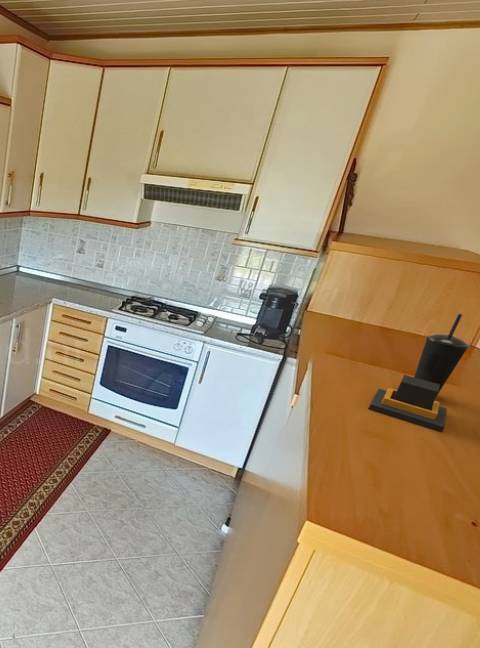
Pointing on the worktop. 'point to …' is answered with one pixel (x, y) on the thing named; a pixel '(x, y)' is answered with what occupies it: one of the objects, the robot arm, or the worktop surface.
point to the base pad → (409, 410)
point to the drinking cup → (440, 356)
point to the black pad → (417, 392)
